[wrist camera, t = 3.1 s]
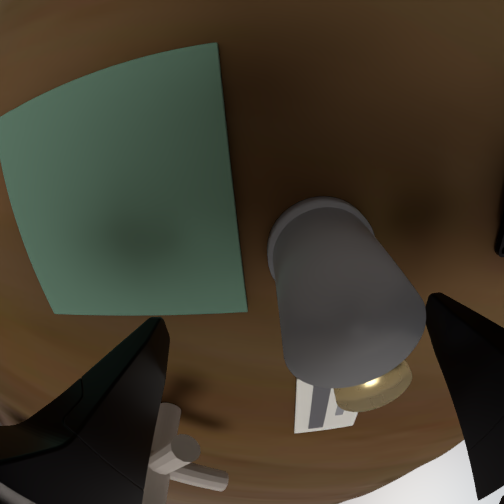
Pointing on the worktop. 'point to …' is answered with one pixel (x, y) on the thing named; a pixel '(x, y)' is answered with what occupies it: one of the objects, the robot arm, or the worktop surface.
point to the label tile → (318, 409)
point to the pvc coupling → (340, 296)
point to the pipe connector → (176, 460)
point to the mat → (129, 189)
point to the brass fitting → (375, 390)
